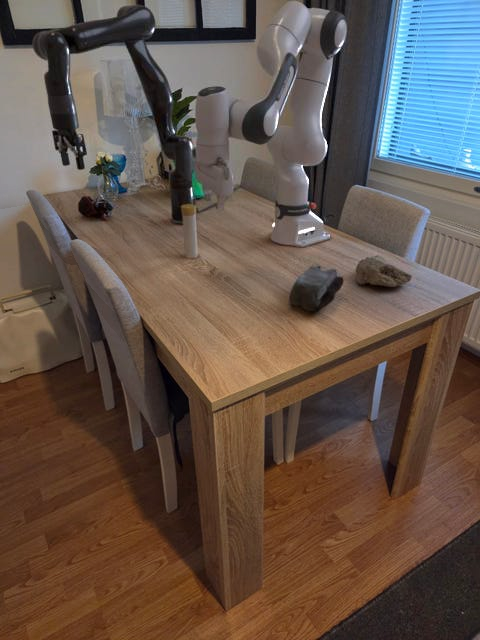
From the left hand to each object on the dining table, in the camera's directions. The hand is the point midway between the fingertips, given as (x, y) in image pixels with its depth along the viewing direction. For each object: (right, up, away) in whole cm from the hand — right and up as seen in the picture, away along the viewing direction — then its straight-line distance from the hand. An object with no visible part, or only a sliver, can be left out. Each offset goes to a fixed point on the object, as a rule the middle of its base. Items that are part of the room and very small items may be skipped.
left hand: (73, 167), depth 141 cm
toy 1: (-8, -5, +47) cm, 48 cm away
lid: (+36, -11, +5) cm, 38 cm away
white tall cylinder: (+36, -26, +14) cm, 46 cm away
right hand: (+45, -15, -14) cm, 50 cm away
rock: (+75, -43, -13) cm, 87 cm away
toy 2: (+29, +13, +76) cm, 82 cm away
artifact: (+96, -36, -2) cm, 102 cm away
